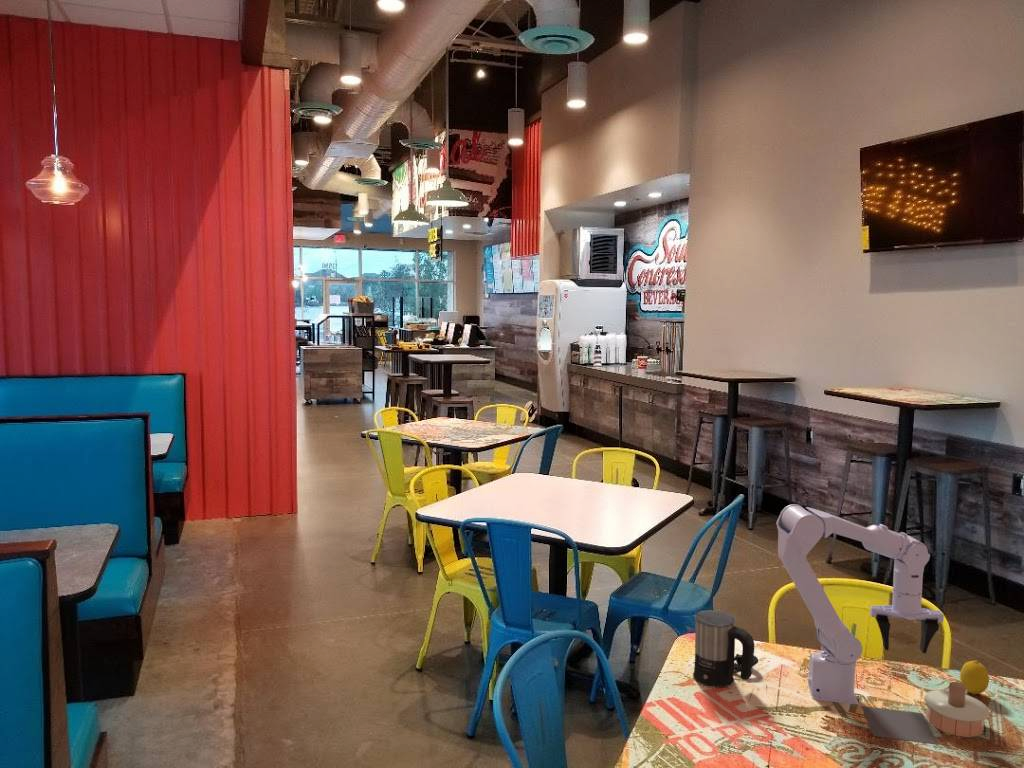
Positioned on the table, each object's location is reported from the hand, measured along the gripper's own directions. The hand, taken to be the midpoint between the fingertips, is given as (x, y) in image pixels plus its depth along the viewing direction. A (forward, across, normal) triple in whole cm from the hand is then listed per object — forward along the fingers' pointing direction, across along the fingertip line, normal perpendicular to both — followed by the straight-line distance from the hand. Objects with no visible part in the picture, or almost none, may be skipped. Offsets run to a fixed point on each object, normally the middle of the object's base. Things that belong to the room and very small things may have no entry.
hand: (904, 649), depth 174 cm
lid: (+6, +8, -11) cm, 15 cm away
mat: (+10, -4, -15) cm, 18 cm away
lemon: (+11, +16, +4) cm, 19 cm away
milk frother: (+10, -38, 0) cm, 40 cm away
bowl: (+10, +8, -11) cm, 17 cm away
